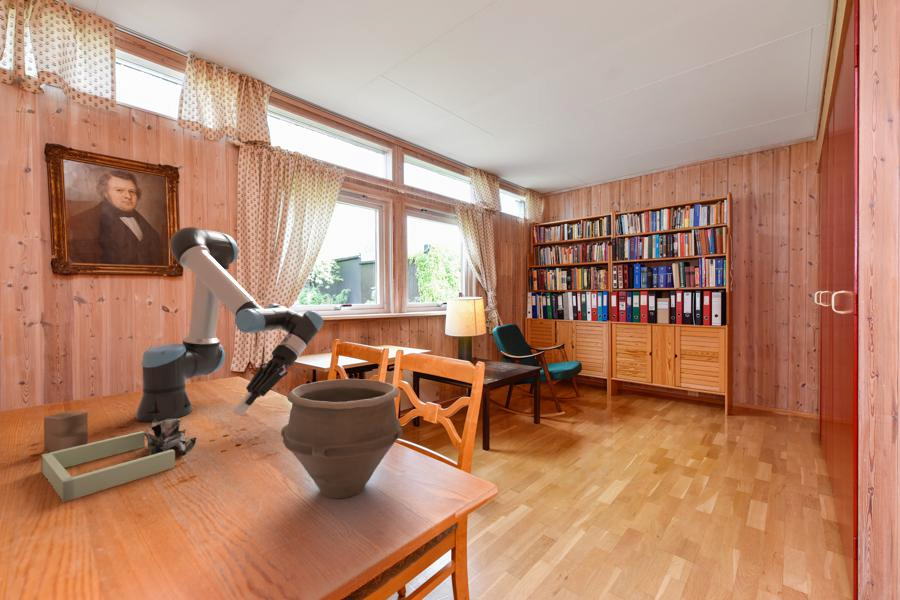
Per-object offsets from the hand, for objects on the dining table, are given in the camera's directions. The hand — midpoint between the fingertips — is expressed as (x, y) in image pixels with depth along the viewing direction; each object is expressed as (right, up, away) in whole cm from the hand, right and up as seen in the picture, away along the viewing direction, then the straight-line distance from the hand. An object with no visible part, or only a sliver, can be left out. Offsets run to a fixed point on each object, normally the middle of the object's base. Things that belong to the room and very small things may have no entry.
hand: (237, 413), depth 114 cm
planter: (+40, -7, -31) cm, 51 cm away
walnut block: (-39, -6, -12) cm, 41 cm away
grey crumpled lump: (-12, -6, -12) cm, 18 cm away
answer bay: (-17, -6, -24) cm, 30 cm away
